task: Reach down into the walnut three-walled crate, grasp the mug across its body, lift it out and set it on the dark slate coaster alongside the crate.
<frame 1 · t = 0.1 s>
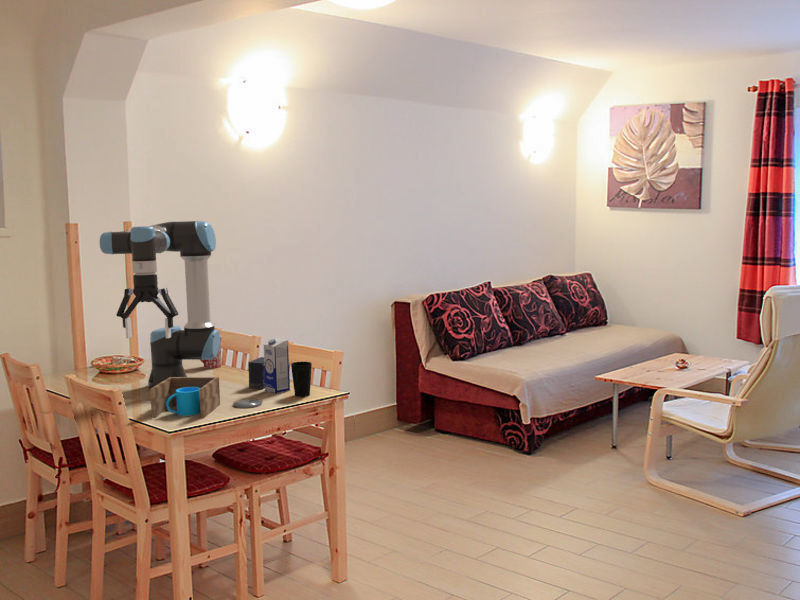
hand: (148, 337, 265), 28 cm above the table, fingers open, 13 cm apart
coaster: (247, 404, 286), on the table
small box: (262, 386, 315), on the table
milk carton: (277, 391, 307), on the table
mug: (184, 414, 276), on the table
mug 2: (208, 367, 353), on the table
cup: (302, 395, 299), on the table
crate: (186, 411, 279), on the table
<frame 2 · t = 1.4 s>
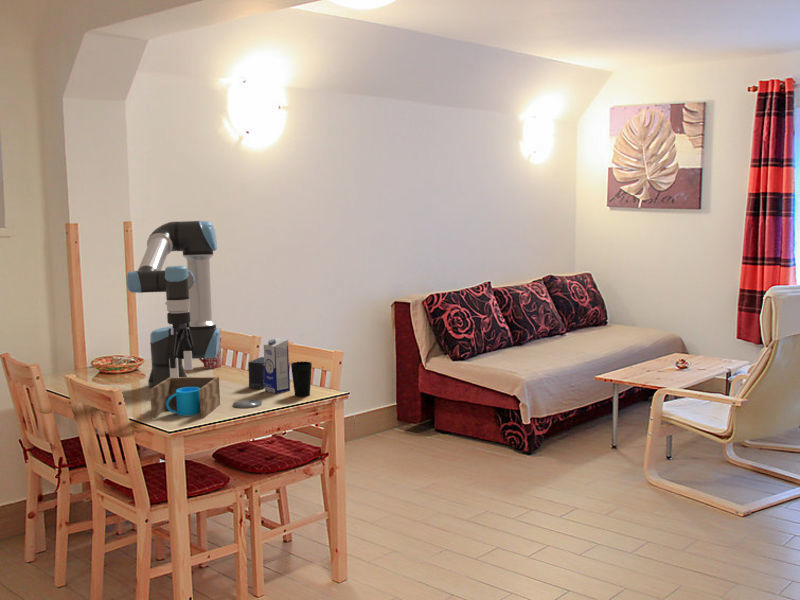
hand: (181, 373, 274), 14 cm above the table, fingers open, 13 cm apart
nothing on the table moved.
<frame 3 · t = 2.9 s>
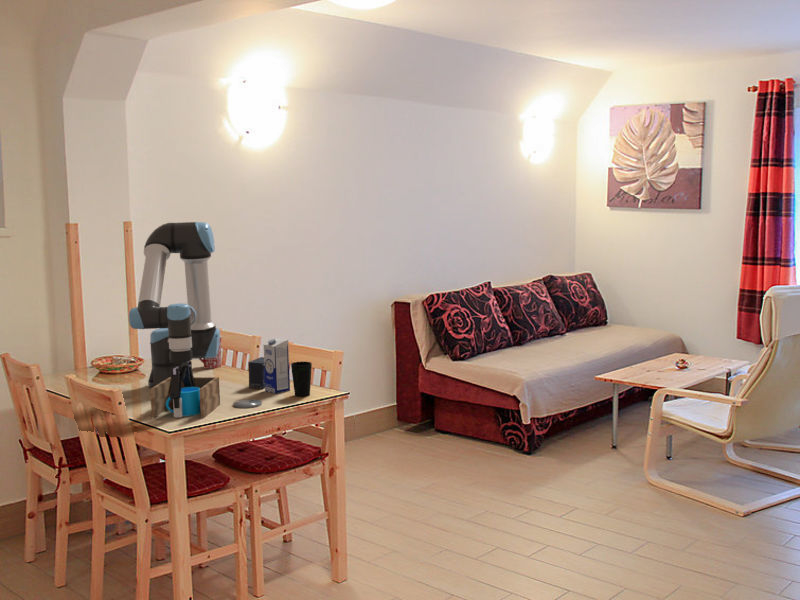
hand: (183, 412, 276), 0 cm above the table, fingers open, 10 cm apart
mug: (183, 414, 276), on the table, touching gripper
everything else where it was.
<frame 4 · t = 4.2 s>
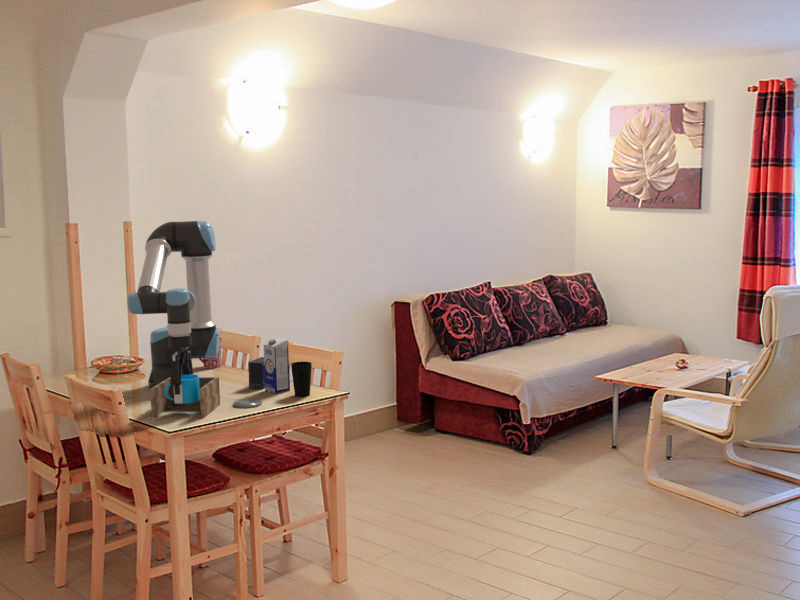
hand: (183, 399, 276), 5 cm above the table, fingers closed on mug, 8 cm apart
mug: (182, 401, 275), point 4 cm above the table, touching gripper
everything else where it was.
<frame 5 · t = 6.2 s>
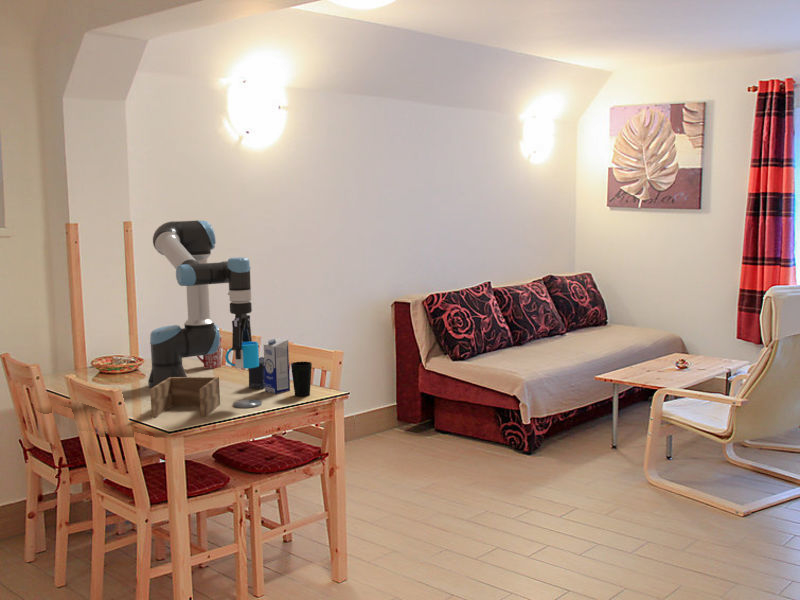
hand: (243, 365, 284), 14 cm above the table, fingers closed on mug, 8 cm apart
mug: (242, 367, 283), point 14 cm above the table, touching gripper
everything else where it was.
when the fingers open (2 cm above the table, at t = 8.6 s): mug drops 1 cm, resting on coaster.
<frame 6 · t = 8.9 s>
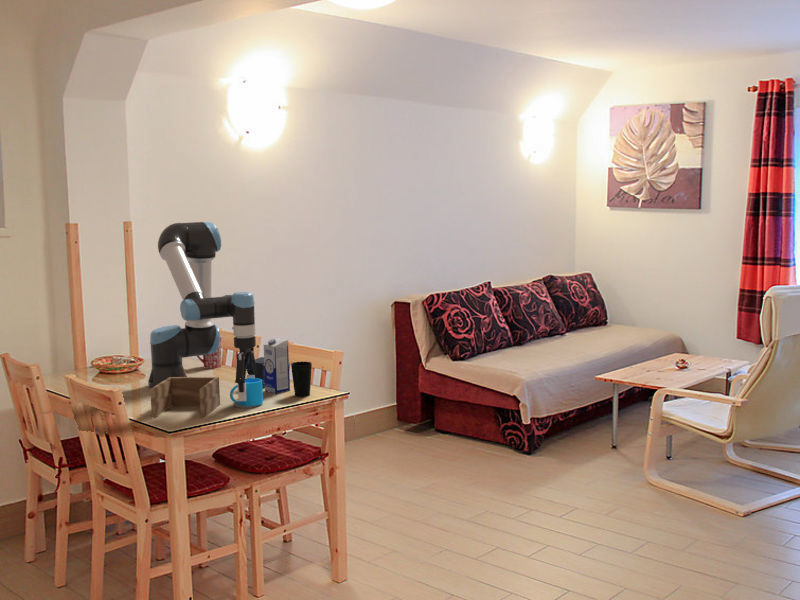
hand: (247, 396, 286), 3 cm above the table, fingers open, 11 cm apart
mug: (246, 404, 285), resting on coaster
everything else where it was.
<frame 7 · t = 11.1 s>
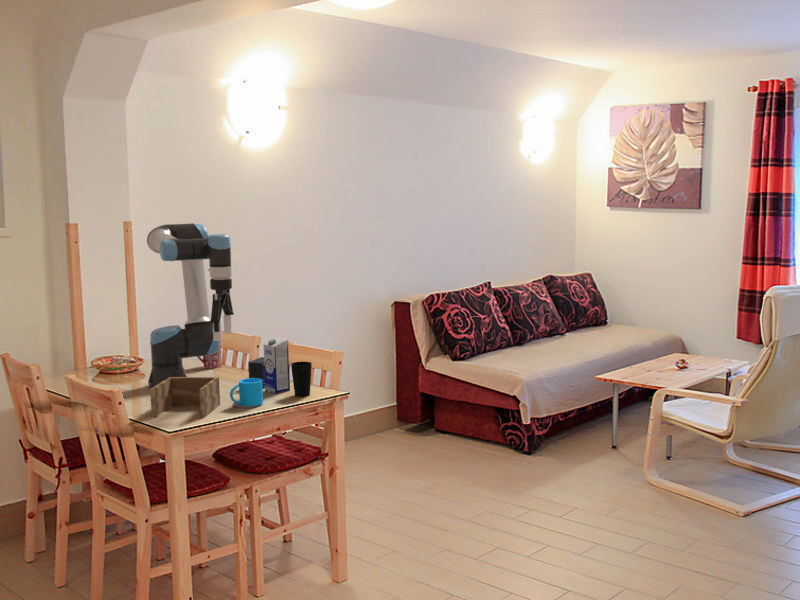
hand: (222, 336, 288), 24 cm above the table, fingers open, 13 cm apart
nothing on the table moved.
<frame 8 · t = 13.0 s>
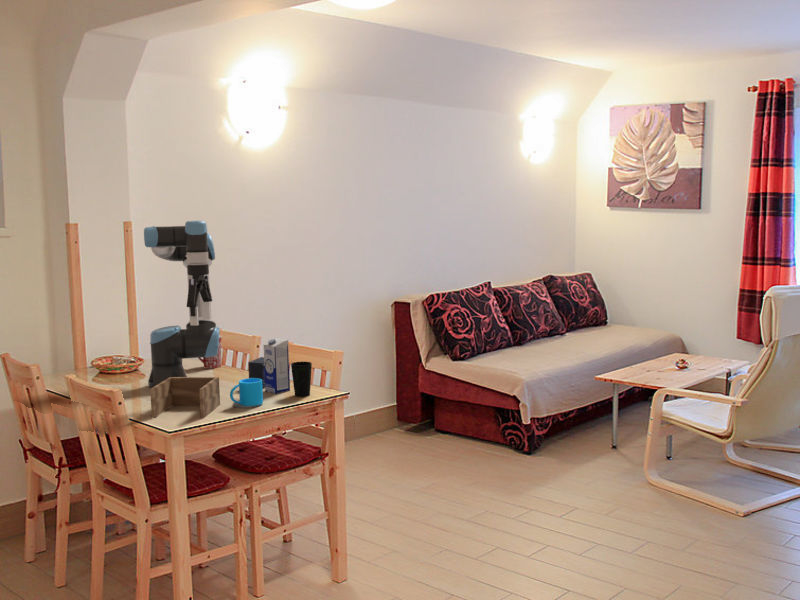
hand: (200, 322, 291), 29 cm above the table, fingers open, 13 cm apart
nothing on the table moved.
at the end: mug inside the target area on the coaster (1.3 cm from its centre), point 0.4 cm above the coaster's base; mug tilted 0°; the gripper is holding nothing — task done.
